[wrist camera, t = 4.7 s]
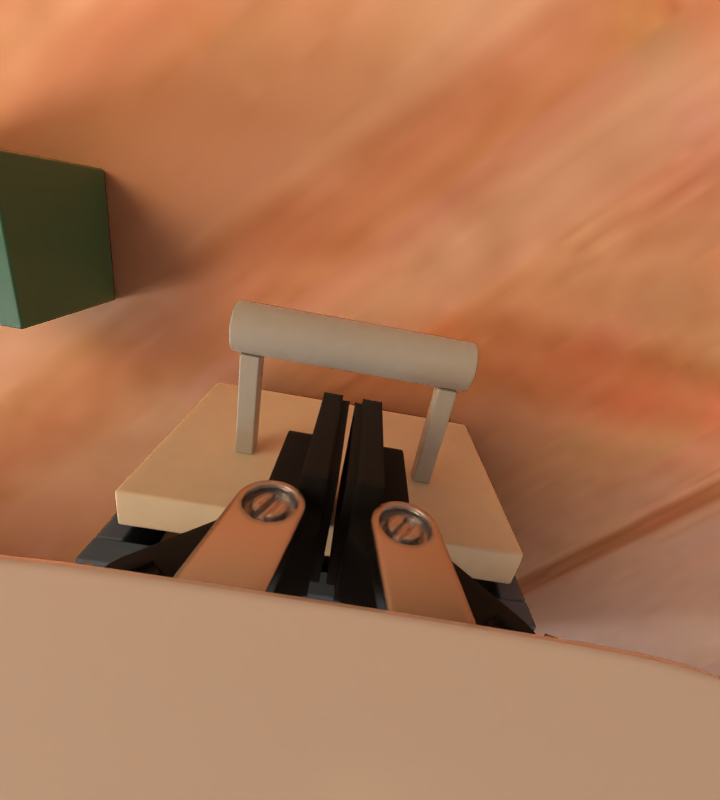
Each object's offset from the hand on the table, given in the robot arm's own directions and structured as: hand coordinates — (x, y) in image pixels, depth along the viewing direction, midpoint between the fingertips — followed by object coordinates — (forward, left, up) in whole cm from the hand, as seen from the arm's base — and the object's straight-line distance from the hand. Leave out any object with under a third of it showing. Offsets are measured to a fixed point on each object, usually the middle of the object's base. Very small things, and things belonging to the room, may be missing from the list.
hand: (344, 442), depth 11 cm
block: (-13, +3, -7) cm, 15 cm away
